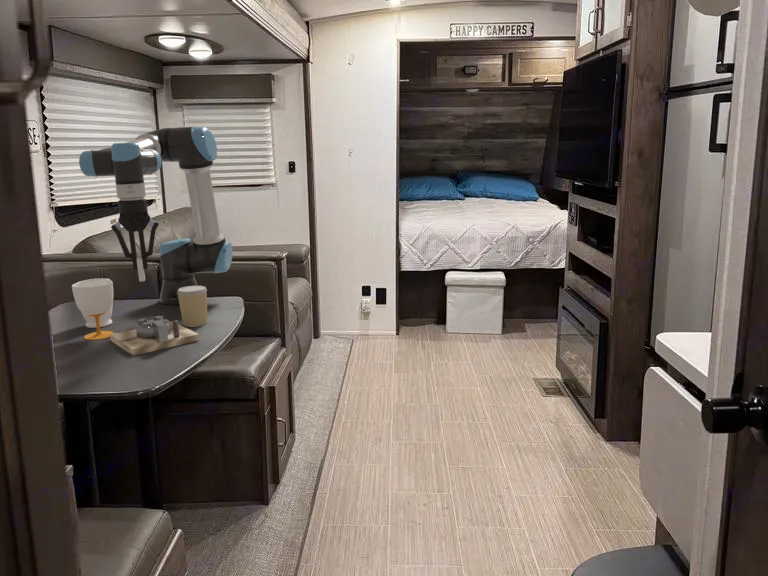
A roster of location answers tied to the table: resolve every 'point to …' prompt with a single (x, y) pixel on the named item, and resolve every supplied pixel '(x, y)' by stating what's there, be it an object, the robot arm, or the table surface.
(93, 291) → the cup
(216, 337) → the table surface
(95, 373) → the table surface
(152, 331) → the grey notched machine part
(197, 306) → the coffee cup
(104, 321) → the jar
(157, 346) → the housing plate
